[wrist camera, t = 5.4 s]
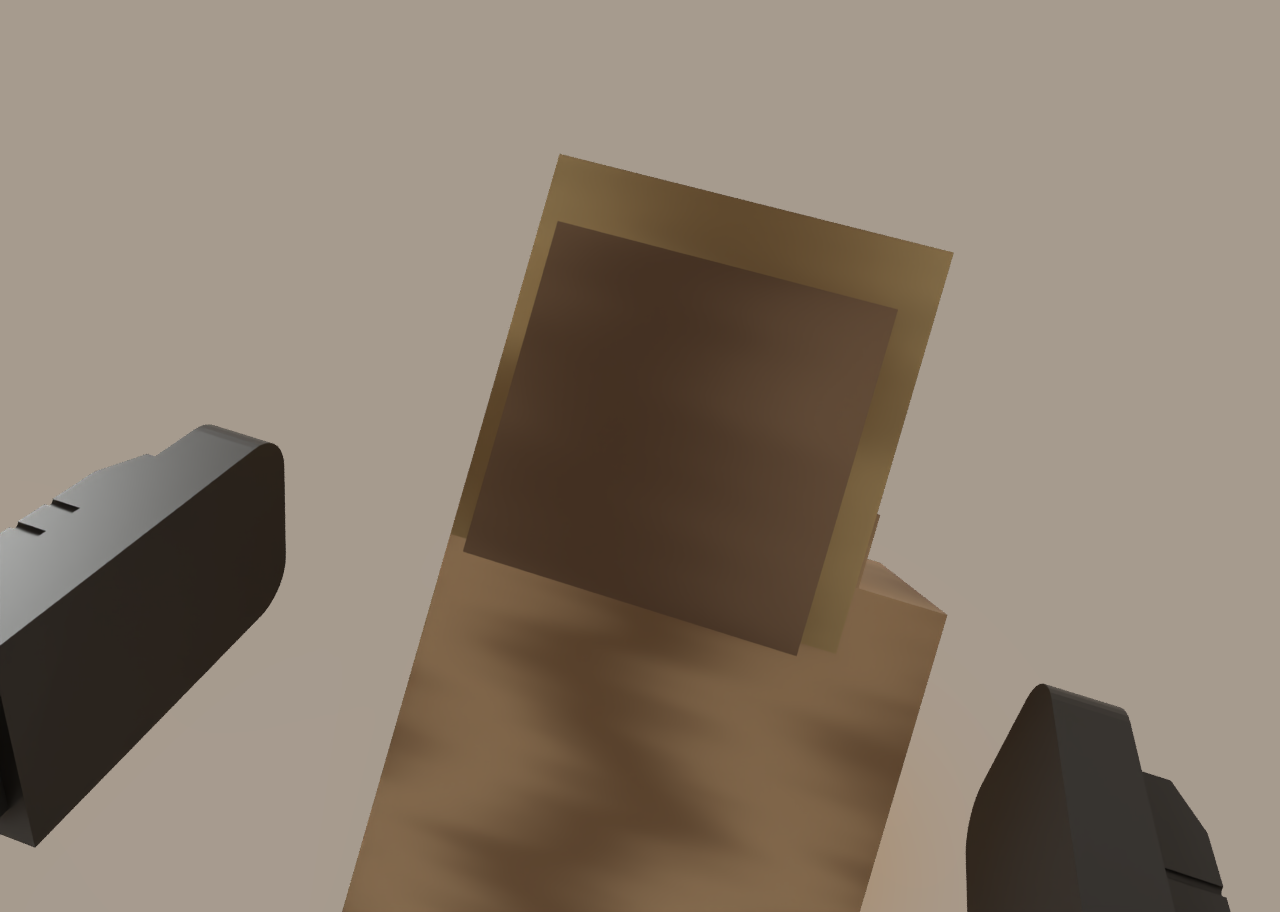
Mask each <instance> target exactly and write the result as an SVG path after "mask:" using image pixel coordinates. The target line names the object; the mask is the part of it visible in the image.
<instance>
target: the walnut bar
mask: <svg viewBox="0 0 1280 912" xmlns="http://www.w3.org/2000/svg"><path fill="white" fill-rule="evenodd" d="M952 257H953V252H949V251H945V250H941V249H937V248H933V247H929V246H925V245H921V244H917V243H913V242H909V241H905V240H901V239H897V238H893V237H889V236H885V235H881V234H877V233H873V232H869V231H865V230H861V229H857V228H853V227H849V226H845V225H841V224H837V223H833V222H829V221H825V220H821V219H817V218H813V217H809V216H805V215H801V214H797V213H793V212H789V211H785V210H781V209H777V208H773V207H769V206H765V205H761V204H757V203H753V202H749V201H745V200H741V199H738V198H733V197H730V196H725V195H722V194H717V193H714V192H710V191H706V190H702V189H698V188H694V187H689V186H686V185H682V184H678V183H673V182H669V181H666V180H661V179H658V178H654V177H650V176H646V175H642V174H638V173H633V172H630V171H626V170H621V169H618V168H614V167H610V166H606V165H602V164H598V163H594V162H590V161H586V160H582V159H578V158H574V157H570V156H566V155H562V154H560V155H559V158H558V162H557V165H556V168H555V172H554V175H553V179H552V182H551V186H550V189H549V193H548V196H547V200H546V203H545V207H544V210H543V214H542V217H541V221H540V224H539V228H538V231H537V235H536V238H535V242H534V245H533V249H532V252H531V256H530V259H529V263H528V266H527V270H526V273H525V277H524V280H523V284H522V287H521V291H520V294H519V298H518V301H517V305H516V308H515V311H514V315H513V318H512V322H511V325H510V329H509V333H508V336H507V339H506V343H505V346H504V350H503V354H502V357H501V360H500V364H499V367H498V371H497V374H496V378H495V381H494V385H493V388H492V392H491V395H490V399H489V402H488V406H487V409H486V413H485V416H484V420H483V423H482V427H481V430H480V433H479V437H478V441H477V444H476V447H475V451H474V454H473V458H472V462H471V465H470V468H469V472H468V475H467V479H466V482H465V486H464V489H463V493H462V496H461V500H460V503H459V507H458V510H457V514H456V517H455V521H454V524H453V528H452V531H451V534H452V535H455V536H459V537H462V538H465V539H466V542H465V546H464V549H463V552H466V553H469V554H472V555H475V556H478V557H482V558H485V559H488V560H491V561H494V562H497V563H501V564H504V565H507V566H510V567H513V568H517V569H520V570H523V571H526V572H529V573H533V574H536V575H539V576H542V577H545V578H548V579H552V580H555V581H558V582H561V583H564V584H568V585H571V586H574V587H577V588H580V589H584V590H587V591H590V592H593V593H596V594H599V595H603V596H606V597H609V598H612V599H615V600H619V601H622V602H625V603H628V604H631V605H635V606H638V607H641V608H644V609H647V610H651V611H654V612H657V613H660V614H663V615H666V616H670V617H673V618H676V619H679V620H682V621H686V622H689V623H692V624H695V625H698V626H702V627H705V628H708V629H711V630H714V631H717V632H721V633H724V634H727V635H730V636H733V637H737V638H740V639H743V640H746V641H749V642H753V643H756V644H759V645H762V646H765V647H769V648H772V649H775V650H778V651H781V652H784V653H788V654H791V655H794V656H797V653H798V650H799V646H800V643H802V644H805V645H809V646H812V647H815V648H818V649H821V650H825V651H828V652H831V653H834V654H836V652H837V649H838V645H839V642H840V639H841V635H842V632H843V628H844V625H845V622H846V618H847V615H848V611H849V608H850V605H851V601H852V598H853V594H854V591H855V587H856V584H857V581H858V577H859V574H860V570H861V567H862V564H863V560H864V557H865V553H866V550H867V547H868V543H869V540H870V536H871V533H872V530H873V526H874V523H875V519H876V516H877V512H878V509H879V506H880V502H881V499H882V495H883V492H884V489H885V485H886V482H887V478H888V475H889V472H890V468H891V465H892V461H893V458H894V455H895V451H896V448H897V444H898V441H899V437H900V434H901V431H902V427H903V424H904V420H905V417H906V414H907V410H908V407H909V403H910V400H911V397H912V393H913V390H914V386H915V383H916V379H917V376H918V373H919V369H920V366H921V363H922V359H923V356H924V352H925V349H926V345H927V342H928V339H929V335H930V332H931V328H932V325H933V321H934V318H935V315H936V311H937V308H938V304H939V301H940V298H941V294H942V291H943V288H944V284H945V280H946V277H947V274H948V271H949V267H950V264H951V260H952Z"/></svg>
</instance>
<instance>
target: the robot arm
mask: <svg viewBox="0 0 1280 912" xmlns="http://www.w3.org/2000/svg"><path fill="white" fill-rule="evenodd" d="M285 560H286V544H285V482H284V459H283V455H282V453H281V450H280V449H279V448H278V446H276V445H275V444H272V443H269V442H266V441H263V440H260V439H256V438H253V437H250V436H246V435H243V434H240V433H237V432H234V431H230V430H227V429H224V428H221V427H218V426H214V425H203V426H200V427H198V428H197V429H195V430H193V431H192V432H190V433H189V434H187V435H186V436H184V437H183V438H181V439H180V440H179V441H177V442H176V443H174V444H173V445H171V446H170V447H168V448H167V449H165V450H164V451H162V452H161V453H160V454H158V455H157V456H152V455H149V454H146V455H143V456H140V457H137V458H134V459H131V460H128V461H125V462H122V463H119V464H116V465H113V466H110V467H107V468H104V469H101V470H98V471H95V472H93V473H92V474H90V475H89V476H87V477H85V478H84V479H82V480H81V481H79V482H78V483H76V484H75V485H73V486H72V487H70V488H69V489H67V490H66V491H64V492H63V493H61V494H59V495H58V496H56V497H55V498H53V501H52V504H51V505H50V506H47V505H45V504H44V505H43V506H41V507H40V508H38V509H37V510H35V511H33V512H32V513H31V514H29V515H28V516H26V517H24V518H23V519H21V520H20V521H18V525H17V527H16V528H15V529H13V528H10V527H9V528H7V529H6V530H4V531H3V532H1V533H0V834H1V835H4V836H6V837H9V838H12V839H14V840H17V841H20V842H22V843H25V844H28V845H30V846H33V847H36V846H37V845H38V844H39V843H40V842H41V841H42V840H43V839H44V838H45V837H46V836H47V835H48V834H49V833H50V832H51V831H52V830H53V829H54V828H55V826H56V825H58V824H59V823H60V821H61V820H62V819H63V818H64V817H65V816H66V815H67V814H68V813H69V812H70V811H71V810H72V809H73V808H74V807H75V806H76V805H77V804H78V803H79V802H80V801H81V800H82V799H83V798H84V797H85V796H86V795H87V794H88V793H89V792H90V791H91V790H92V789H93V788H94V787H95V786H96V785H97V784H98V783H99V781H100V780H101V779H102V778H103V777H104V776H105V775H106V774H107V773H108V772H109V771H110V770H111V769H112V768H113V767H114V766H115V765H116V764H117V763H118V762H119V761H120V760H121V759H122V758H123V757H124V756H125V755H126V754H127V753H128V752H129V751H130V750H131V749H132V748H133V747H134V746H135V745H136V744H137V743H138V742H139V740H140V739H141V738H142V737H143V736H144V735H145V734H146V733H147V732H148V731H149V730H150V729H151V728H152V727H153V726H154V725H155V724H156V723H157V722H158V721H159V720H160V719H161V718H162V717H163V716H164V715H165V714H166V713H167V712H168V711H169V710H170V709H171V707H172V706H174V705H175V704H176V703H177V702H178V700H179V699H180V698H181V697H182V696H183V695H184V694H185V693H186V692H187V691H188V690H189V689H190V688H191V687H192V686H193V685H194V684H195V683H196V682H197V681H198V680H199V679H200V678H201V677H202V676H203V675H204V674H205V673H206V672H207V671H208V670H209V669H210V668H211V667H212V666H213V665H214V664H215V663H216V662H217V660H218V659H219V658H220V657H221V656H222V655H223V654H224V653H225V652H226V651H227V650H228V649H229V648H230V647H231V646H232V645H233V644H234V643H235V642H236V641H237V640H238V639H239V638H240V637H241V636H242V635H243V634H244V633H245V632H246V631H247V630H248V629H249V628H250V627H251V626H252V625H253V624H254V623H255V622H256V621H257V620H258V618H259V617H260V616H261V615H262V614H263V613H264V612H265V611H266V609H267V608H268V607H269V605H270V603H271V602H272V600H273V598H274V596H275V594H276V592H277V590H278V588H279V586H280V583H281V580H282V577H283V573H284V568H285ZM966 875H967V876H966V878H967V879H966V880H967V912H1230V909H1229V905H1228V902H1227V898H1226V897H1223V896H1222V895H1221V891H1222V888H1223V884H1222V881H1221V878H1220V874H1219V871H1218V867H1217V864H1216V861H1215V857H1214V854H1213V851H1212V847H1211V844H1210V840H1209V837H1208V834H1207V832H1206V830H1205V829H1204V828H1203V826H1202V825H1201V823H1200V822H1199V820H1198V819H1197V818H1196V816H1195V815H1194V814H1193V812H1192V810H1191V809H1190V808H1189V806H1188V805H1187V803H1186V802H1185V801H1184V799H1183V798H1182V796H1181V795H1180V793H1179V792H1178V790H1177V789H1176V787H1175V786H1174V785H1173V783H1172V782H1171V781H1170V780H1167V779H1164V778H1161V777H1157V776H1154V775H1151V774H1148V773H1145V772H1142V770H1141V766H1140V762H1139V757H1138V753H1137V749H1136V745H1135V740H1134V736H1133V732H1132V728H1131V724H1130V721H1129V717H1128V715H1127V713H1126V712H1125V711H1124V710H1123V709H1122V708H1120V707H1117V706H1114V705H1110V704H1107V703H1104V702H1101V701H1098V700H1094V699H1091V698H1088V697H1085V696H1081V695H1078V694H1075V693H1071V692H1068V691H1065V690H1062V689H1059V688H1056V687H1052V686H1049V685H1046V684H1039V685H1038V686H1036V687H1035V688H1034V689H1033V690H1032V692H1031V693H1030V694H1029V696H1028V698H1027V699H1026V701H1025V704H1024V705H1023V707H1022V709H1021V711H1020V713H1019V715H1018V717H1017V719H1016V720H1015V722H1014V724H1013V726H1012V728H1011V730H1010V732H1009V734H1008V736H1007V738H1006V740H1005V741H1004V743H1003V745H1002V747H1001V749H1000V751H999V753H998V755H997V757H996V758H995V761H994V763H993V764H992V766H991V768H990V770H989V772H988V774H987V776H986V778H985V779H984V782H983V783H982V785H981V787H980V789H979V792H978V794H977V797H976V800H975V802H974V806H973V809H972V813H971V817H970V821H969V826H968V833H967V840H966Z"/></svg>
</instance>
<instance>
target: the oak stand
mask: <svg viewBox="0 0 1280 912" xmlns="http://www.w3.org/2000/svg"><path fill="white" fill-rule="evenodd" d="M468 472H469V471H468ZM464 486H465V485H464ZM462 493H463V492H462ZM460 500H461V499H460ZM456 514H457V513H456ZM879 517H880V515H878V514H877V516H876V519H875V523H874V526H873V530H872V533H871V536H870V540H869V543H868V547H867V550H866V553H865V557H864V560H863V564H862V567H861V570H860V574H859V577H858V581H857V584H856V587H855V591H854V594H853V598H852V601H851V605H850V608H849V611H848V615H847V618H846V622H845V625H844V628H843V632H842V635H841V639H840V642H839V645H838V649H837V652H836V654H834V653H831V652H828V651H825V650H821V649H818V648H815V647H812V646H809V645H805V644H802V643H800V646H799V650H798V653H797V656H794V655H791V654H788V653H784V652H781V651H778V650H775V649H772V648H769V647H765V646H762V645H759V644H756V643H753V642H749V641H746V640H743V639H740V638H737V637H733V636H730V635H727V634H724V633H721V632H717V631H714V630H711V629H708V628H705V627H702V626H698V625H695V624H692V623H689V622H686V621H682V620H679V619H676V618H673V617H670V616H666V615H663V614H660V613H657V612H654V611H651V610H647V609H644V608H641V607H638V606H635V605H631V604H628V603H625V602H622V601H619V600H615V599H612V598H609V597H606V596H603V595H599V594H596V593H593V592H590V591H587V590H584V589H580V588H577V587H574V586H571V585H568V584H564V583H561V582H558V581H555V580H552V579H548V578H545V577H542V576H539V575H536V574H533V573H529V572H526V571H523V570H520V569H517V568H513V567H510V566H507V565H504V564H501V563H497V562H494V561H491V560H488V559H485V558H482V557H478V556H475V555H472V554H469V553H466V552H463V549H464V546H465V542H466V539H465V538H462V537H459V536H455V535H452V534H450V538H449V541H448V545H447V548H446V552H445V555H444V558H443V562H442V565H441V569H440V573H439V576H438V580H437V583H436V586H435V590H434V593H433V597H432V600H431V604H430V608H429V611H428V614H427V618H426V621H425V625H424V628H423V632H422V635H421V639H420V642H419V646H418V649H417V653H416V656H415V660H414V663H413V667H412V671H411V674H410V677H409V681H408V685H407V688H406V691H405V694H404V698H403V701H402V705H401V708H400V712H399V715H398V719H397V723H396V726H395V730H394V733H393V737H392V740H391V743H390V747H389V750H388V754H387V757H386V761H385V764H384V768H383V771H382V775H381V778H380V782H379V785H378V789H377V792H376V796H375V799H374V803H373V806H372V810H371V813H370V817H369V820H368V824H367V827H366V831H365V834H364V837H363V841H362V845H361V848H360V851H359V855H358V858H357V862H356V865H355V869H354V872H353V876H352V880H351V883H350V887H349V890H348V893H347V897H346V900H345V904H344V907H343V911H342V912H860V909H861V906H862V902H863V898H864V895H865V892H866V889H867V885H868V882H869V879H870V875H871V872H872V868H873V865H874V862H875V858H876V855H877V851H878V848H879V844H880V841H881V838H882V835H883V831H884V828H885V824H886V821H887V818H888V814H889V811H890V807H891V803H892V800H893V797H894V794H895V790H896V787H897V783H898V780H899V777H900V774H901V770H902V767H903V763H904V760H905V757H906V753H907V749H908V746H909V743H910V740H911V736H912V733H913V729H914V726H915V722H916V719H917V716H918V713H919V709H920V705H921V702H922V699H923V696H924V692H925V688H926V685H927V682H928V678H929V675H930V672H931V668H932V665H933V662H934V658H935V655H936V652H937V648H938V644H939V641H940V638H941V635H942V631H943V628H944V624H945V621H946V618H947V615H946V614H945V613H944V612H943V611H941V610H940V609H939V608H938V607H936V606H935V605H934V604H932V603H931V602H930V601H928V600H927V599H926V598H925V597H923V596H922V595H921V594H919V593H918V592H917V591H916V590H914V589H913V588H912V587H911V586H909V585H908V584H907V583H905V582H904V581H903V580H901V579H900V578H899V577H898V576H896V575H895V574H894V573H892V572H891V571H890V570H889V569H887V568H886V567H885V566H883V565H882V564H881V563H879V562H876V561H872V560H869V559H867V558H868V555H869V551H870V548H871V544H872V541H873V538H874V534H875V531H876V527H877V523H878V521H879ZM454 521H455V520H454ZM452 528H453V527H452Z"/></svg>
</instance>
